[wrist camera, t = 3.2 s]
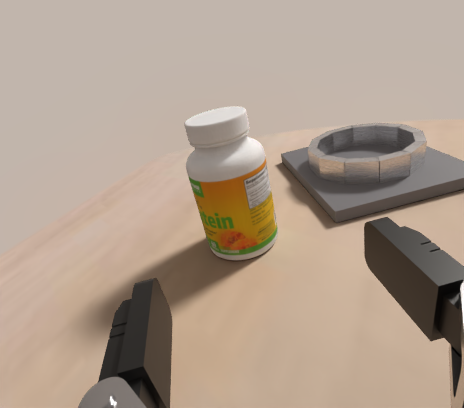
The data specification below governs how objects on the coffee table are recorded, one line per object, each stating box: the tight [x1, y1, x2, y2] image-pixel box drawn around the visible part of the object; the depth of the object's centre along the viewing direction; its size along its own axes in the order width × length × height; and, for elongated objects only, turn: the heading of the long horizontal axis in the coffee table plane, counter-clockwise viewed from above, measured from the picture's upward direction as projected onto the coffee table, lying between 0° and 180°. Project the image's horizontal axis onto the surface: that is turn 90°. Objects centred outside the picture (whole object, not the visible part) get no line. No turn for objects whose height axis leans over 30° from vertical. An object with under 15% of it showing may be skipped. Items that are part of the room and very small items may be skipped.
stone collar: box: [308, 123, 427, 185], centre depth 29 cm, size 10×10×2 cm
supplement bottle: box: [185, 106, 278, 260], centre depth 22 cm, size 5×5×10 cm
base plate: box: [281, 145, 464, 223], centre depth 30 cm, size 12×14×1 cm
